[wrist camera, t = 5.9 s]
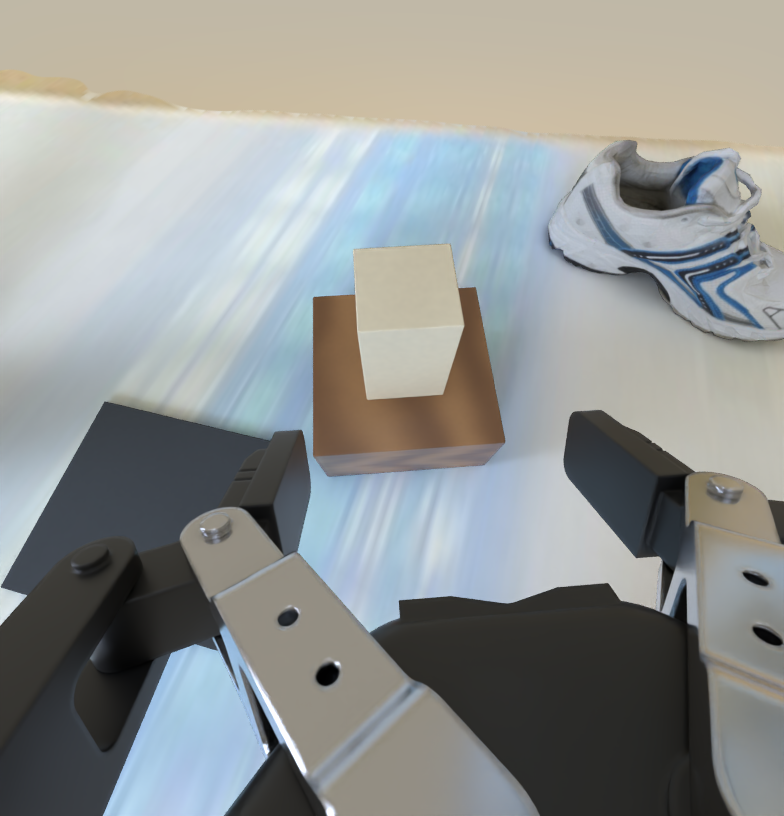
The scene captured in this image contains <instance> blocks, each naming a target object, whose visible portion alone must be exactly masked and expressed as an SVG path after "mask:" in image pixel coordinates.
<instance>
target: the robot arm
mask: <svg viewBox="0 0 784 816" xmlns="http://www.w3.org/2000/svg"><path fill="white" fill-rule="evenodd" d="M564 468H565V472H566V474H567V476H568V478H569V479H570V480H571V482H572V483H573V484H574V485H575V486H576V488H577V489H578V490H579V491H580V492H581V493H582V495H583V496H584V497H585V498H586V499H587V501H588V502H589V503H590V504H591V505H592V506H593V508H594V509H595V510H596V511H597V512H598V514H599V515H600V516H601V517H602V518H603V519H604V521H605V522H606V523H607V524H608V525H609V527H610V528H611V529H612V530H613V531H614V532H615V534H616V535H617V536H618V537H619V538H620V540H621V541H622V542H623V543H624V544H625V545H626V547H627V548H628V549H629V550H630V551H631V553H632V554H633V555H634V556H635V557H636V558H644V557H656V556H659V557H660V558H661V559H662V561H661V564H660V567H659V571H658V584H657V599H656V610H654V609H651V608H648V607H645V606H642V605H638V604H634V603H629V602H624V601H620V599H619V598H618V597H617V595H616V594H615V592H614V591H613V589H612V588H611V587H610V585H609V584H608V583H605V584H593V585H580V586H568V587H557V588H554V589H551V590H549V591H546V592H543V593H540V594H537V595H534V596H531V597H528V598H525V599H523V600H520V601H517V602H514V603H508V604H506V603H497V602H490V601H482V600H475V599H468V598H460V597H453V596H448V597H436V598H424V599H412V600H400V601H399V610H400V618H399V619H396V620H393V621H391V622H388V623H386V624H384V625H382V626H380V627H378V628H377V629H375V630H373V631H372V632H370V633H369V632H368V631H367V630H366V629H365V628H364V626H363V625H362V624H361V623H360V622H359V621H358V620H357V618H356V617H355V616H354V615H353V614H352V613H351V612H350V611H349V609H348V608H347V607H346V606H345V605H344V604H343V603H342V602H341V600H340V599H339V598H338V597H337V596H336V595H335V594H334V593H333V591H332V590H331V589H330V588H329V587H328V586H327V585H326V583H325V582H324V581H323V580H322V579H321V578H320V577H319V576H318V574H317V573H316V572H315V571H314V570H313V569H312V568H311V567H310V565H309V564H308V563H307V562H306V561H305V560H304V559H303V558H302V556H301V555H300V554H298V553H297V551H298V546H299V542H300V538H301V533H302V529H303V525H304V520H305V516H306V512H307V507H308V503H309V499H310V492H311V481H310V472H309V466H308V460H307V453H306V447H305V440H304V435H303V432H302V430H292V431H278V432H275V433H274V435H273V437H272V439H271V441H270V443H269V445H268V447H267V449H257V450H256V451H255V452H253V453H252V454H251V455H250V456H248V457H247V458H246V459H245V460H244V462H243V463H242V465H241V467H240V469H239V472H237V474H236V476H235V478H234V481H232V483H231V485H230V486H229V488H228V490H227V492H226V493H225V495H224V497H223V499H222V500H221V502H220V504H219V506H218V507H217V509H214V510H211V511H208V512H206V513H204V514H202V515H200V516H198V517H197V518H195V519H194V520H192V521H191V522H190V523H189V524H188V525H187V526H186V527H185V528H184V529H183V531H182V532H181V535H180V540H179V541H177V542H173V543H170V544H167V545H163V546H160V547H156V548H153V549H149V550H146V551H142V552H139V553H138V551H137V549H136V546H135V544H134V542H133V541H132V539H130V538H128V537H124V536H112V537H106V538H102V539H98V540H95V541H92V542H90V543H87V544H85V545H83V546H81V547H79V548H77V549H75V550H74V551H72V552H70V553H69V554H67V555H66V556H64V557H63V558H62V559H61V560H60V561H58V562H57V563H56V564H55V565H54V566H53V568H52V569H51V570H50V571H49V572H48V573H47V574H46V575H45V576H44V578H43V579H42V580H41V581H40V582H39V583H38V584H37V585H36V587H35V588H34V589H33V590H32V591H31V592H30V593H29V594H28V595H27V597H26V598H25V599H24V600H23V601H22V602H21V603H20V604H19V606H18V607H17V608H16V609H15V610H14V611H13V612H12V613H11V614H10V616H9V617H8V618H7V619H6V620H5V621H4V622H3V623H2V625H1V626H0V816H103V814H104V811H105V809H106V807H107V804H108V802H109V800H110V797H111V795H112V792H113V790H114V788H115V785H116V783H117V780H118V778H119V776H120V773H121V771H122V769H123V766H124V764H125V761H126V759H127V757H128V754H129V752H130V749H131V747H132V745H133V742H134V740H135V738H136V735H137V733H138V730H139V728H140V726H141V723H142V721H143V718H144V716H145V714H146V711H147V709H148V707H149V704H150V702H151V699H152V697H153V695H154V692H155V690H156V687H157V685H158V683H159V680H160V678H161V676H162V673H163V671H164V668H165V666H166V664H167V661H168V659H169V656H170V654H171V653H172V652H175V651H178V650H180V649H183V648H186V647H189V646H191V645H194V644H197V643H199V642H202V641H205V640H207V639H210V638H213V641H214V643H215V645H216V647H217V649H218V652H219V654H220V656H221V658H222V660H223V662H224V665H225V667H226V669H227V671H228V673H229V676H230V678H231V680H232V682H233V684H234V686H235V689H236V691H237V693H238V695H239V697H240V699H241V702H242V704H243V706H244V709H245V711H246V713H247V716H248V718H249V721H250V724H251V726H252V729H253V731H254V734H255V736H256V739H257V741H258V744H259V746H260V748H261V751H262V753H263V755H264V757H265V760H266V761H265V762H264V763H263V765H262V766H261V767H260V769H259V770H258V771H257V773H256V774H255V775H254V777H253V778H252V779H251V781H250V782H249V783H248V785H247V786H246V787H245V789H244V790H243V791H242V793H241V794H240V795H239V796H238V798H237V799H236V800H235V802H234V803H233V804H232V806H231V807H230V808H229V810H228V811H227V812H226V814H225V815H224V816H784V502H783V501H774V500H767V498H766V496H765V495H764V493H763V492H762V491H760V490H759V489H758V488H756V487H755V486H753V485H751V484H749V483H747V482H745V481H743V480H741V479H738V478H735V477H732V476H729V475H725V474H720V473H714V472H695V471H693V470H692V469H690V468H689V467H688V466H686V465H685V464H683V463H682V462H680V461H679V460H678V459H676V458H675V457H673V456H672V455H671V454H669V453H668V452H666V451H663V450H662V448H661V447H659V446H658V445H656V444H655V443H652V441H651V440H649V439H648V438H646V437H645V436H644V435H642V434H641V433H639V432H637V431H635V430H633V429H630V428H628V427H625V426H623V425H622V424H620V423H619V422H617V421H616V420H615V419H613V418H612V417H611V416H609V415H608V414H606V413H605V412H604V411H602V410H592V411H577V412H573V413H572V414H571V416H570V419H569V425H568V432H567V439H566V446H565V452H564Z"/></svg>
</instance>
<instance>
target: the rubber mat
mask: <svg viewBox="0 0 784 816" xmlns="http://www.w3.org/2000/svg"><path fill="white" fill-rule="evenodd" d="M269 443H270V441H267V440H263V439H259V438H255V437H251V436H247V435H242V434H238V433H234V432H230V431H226V430H222V429H217V428H213V427H209V426H205V425H201V424H197V423H193V422H188V421H184V420H180V419H176V418H172V417H168V416H163V415H159V414H155V413H151V412H147V411H143V410H138V409H134V408H130V407H126V406H122V405H118V404H113V403H109V402H104V404H103V405H102V407H101V409H100V411H99V413H98V414H97V416H96V418H95V420H94V422H93V423H92V425H91V427H90V429H89V430H88V432H87V434H86V436H85V438H84V439H83V441H82V443H81V445H80V446H79V448H78V450H77V452H76V454H75V455H74V457H73V459H72V461H71V462H70V464H69V466H68V468H67V470H66V471H65V473H64V475H63V477H62V478H61V480H60V482H59V484H58V486H57V487H56V489H55V491H54V493H53V495H52V496H51V498H50V500H49V502H48V503H47V505H46V507H45V509H44V511H43V512H42V514H41V516H40V518H39V519H38V521H37V523H36V525H35V527H34V528H33V530H32V532H31V534H30V535H29V537H28V539H27V541H26V543H25V544H24V546H23V548H22V550H21V551H20V553H19V555H18V557H17V559H16V560H15V562H14V564H13V566H12V568H11V569H10V571H9V573H8V575H7V576H6V578H5V580H4V582H3V584H2V585H1V588H5V589H8V590H12V591H15V592H18V593H22V594H25V595H28V594H29V593H30V592H31V591H32V590H33V589H34V588H35V587H36V585H37V584H38V583H39V582H40V581H41V580H42V579H43V578H44V576H45V575H46V574H47V573H48V572H49V571H50V570H51V569H52V568H53V566H54V565H55V564H56V563H57V562H58V561H60V560H61V559H62V558H63V557H64V556H66V555H67V554H69V553H70V552H72V551H74V550H75V549H77V548H79V547H81V546H83V545H85V544H87V543H90V542H92V541H95V540H98V539H102V538H106V537H112V536H124V537H128V538H130V539H132V541H133V542H134V544H135V546H136V549H137V551H138V553H139V552H142V551H146V550H149V549H153V548H156V547H160V546H163V545H167V544H170V543H173V542H177V541H179V540H180V535H181V532H182V531H183V529H184V528H185V527H186V526H187V525H188V524H189V523H190V522H191V521H192V520H194V519H195V518H197V517H198V516H200V515H202V514H204V513H206V512H208V511H211V510H214V509H217V507H218V506H219V504H220V502H221V500H222V499H223V497H224V495H225V493H226V492H227V490H228V488H229V486H230V485H231V483H232V481H234V478H235V476H236V474H237V472H239V469H240V467H241V465H242V463H243V462H244V460H245V459H246V458H247V457H248V456H250V455H251V454H252V453H253V452H255V451H256V450H257V449H267V447H268V445H269ZM197 645H200V646H203V647H207V648H210V649H214V650H217V651H218V649H217V647H216V645H215V643H214V641H213V638H210V639H207V640H205V641H202V642H199V643H197Z"/></svg>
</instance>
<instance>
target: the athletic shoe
mask: <svg viewBox="0 0 784 816" xmlns="http://www.w3.org/2000/svg"><path fill="white" fill-rule="evenodd" d="M636 148H637V142H636V141H631V140H623V141H616V142H614V143H612V144H610V145H608V146H607V147H606V148H605V149H604V150H602V151H601V152H600V153H599V154H598V155H597V156H596V157H595V158H594V159H593V160H592V161H591V162H590V164H589V165H588V166H587V168H586V169H585V170H584V172H583V173H582V175H581V176H580V178H579V180H578V181H577V183H576V184H575V186H574V187H573V189H572V191H571V192H569V193H568V194H567V195H566V196H565V197H564V198H563V199H562V200H561V202H560V203H559V205H558V207H557V209H556V211H555V213H554V214H553V216H552V218H551V220H550V223H549V225H548V234H549V244H550V246H551V247H552V249H559V248H560V249H561V250H563V251H564V258H565V260H566V261H568V262H570V263H572V264H573V265H575V266H581V267H582V268H584V269H586V270H589V271H593V272H597V273H608V274H612V275H620V274H628V273H631V272H645V273H649V274H650V275H651V276H652V277H653V278H654V279H655V281H656V282H657V285H658V288H659V292H660V294H661V296H662V298H663V300H665V301H666V302H667V303H668V304H670V305H671V306H672V307H673V311H674V312H675V313H676V314H677V315H680V316H682V317H683V318H684V319H685V320H690V321H691V323H692V325H693V326H695V327H697V328H699V329H700V330H702V331H703V332H705V333H707V332H710V331H712V332H713V333H714V335H716V336H719V337H721V338H725V339H729V340H731V339H734V338H739V339H741V340H742V341H757V340H766V341H775V340H780V339H784V253H783V252H781V251H780V250H778V249H776V248H773V247H771V246H769V245H767V244H765V243H764V242H761V241H760V235H759V234H758V232H757V230H756V229H755V227H754V225H753V224H750V223H747V221H748V218H750V217H751V213H750V211H749V210H750V209H751V208H753V207H754V206H756V205H757V204H758V202H759V199H760V197H761V193H762V189H760V188H759V187H758V186H757V185H756V184H755V183H754V181H753V180H752V178H751V176H750V174H748V173H746V172H744V171H742V170H741V169H739V168H737V166H738V164H739V162H740V159H741V158H740V155H739V153H738V152H736V151H734V150H733V149H731V148H725V149H719V150H712V151H706V152H702V153H700V154H698V155H696V156H693V157H689V158H685V159H681V160H678V161H674V162H654V161H648V160H645V159H644V158H642V157H641V156H639V155H638V154H637V152H636ZM738 181H740V182H741V183H743V184H745V185H746V186H747V187H748V189H749V190H750V192H751V197H750V198H748V199H747V200H741V195H740V192H739V187H738Z"/></svg>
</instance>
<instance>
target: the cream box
mask: <svg viewBox="0 0 784 816" xmlns="http://www.w3.org/2000/svg"><path fill="white" fill-rule="evenodd" d="M353 258H354V278H355V297H356V317H357V334H358V341H359V348H360V355H361V362H362V369H363V376H364V383H365V390H366V397H367V400H374V399H389V398H403V397H418V396H432V395H443V393H444V390H445V386H446V383H447V380H448V377H449V374H450V370H451V367H452V364H453V361H454V358H455V354H456V351H457V348H458V345H459V341H460V338H461V335H462V332H463V329H464V319H463V314H462V308H461V302H460V296H459V290H458V284H457V279H456V273H455V267H454V261H453V255H452V250H451V245H450V244H435V245H417V246H399V247H382V248H364V249H354V250H353Z"/></svg>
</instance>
